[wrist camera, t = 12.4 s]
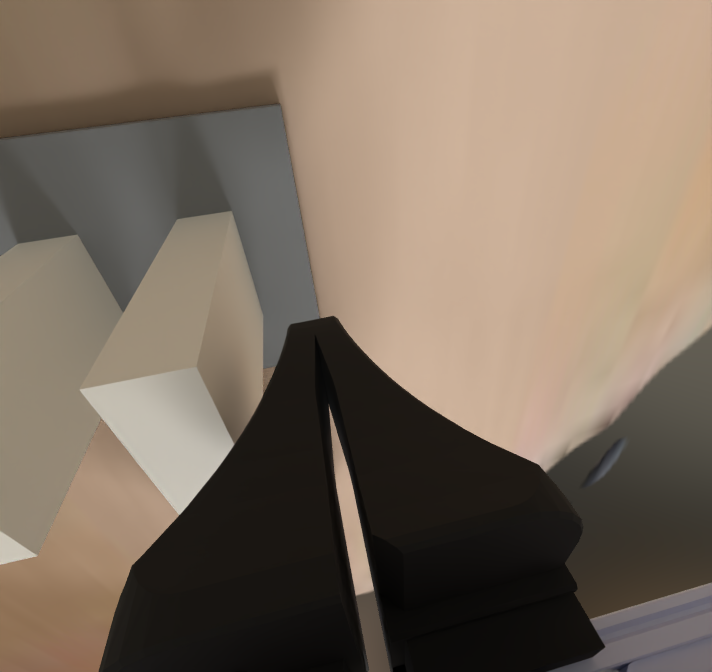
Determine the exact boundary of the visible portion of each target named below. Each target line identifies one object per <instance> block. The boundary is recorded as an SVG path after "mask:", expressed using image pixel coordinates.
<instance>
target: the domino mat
mask: <svg viewBox="0 0 712 672" xmlns="http://www.w3.org/2000/svg"><path fill="white" fill-rule="evenodd" d="M227 211H232V213H233V216H234V220H235V223H236V226H237V230H238V233H239V236H240V240H241V243H242V246H243V250H244V253H245V256H246V260H247V263H248V266H249V270H250V273H251V276H252V280H253V283H254V286H255V290H256V293H257V296H258V300H259V303H260V306H261V310H262V313H263V369H265V368H270V367H275V366H276V365H277V363H278V360H279V358H280V355H281V352H282V349H283V346H284V342H285V339H286V335H287V329H288V327H289V326H290V325H291V324H294V323H299V322H304V321H310V320H315V319H320V317H319V312H318V306H317V301H316V295H315V290H314V284H313V279H312V274H311V268H310V263H309V257H308V252H307V246H306V241H305V236H304V230H303V225H302V219H301V214H300V208H299V203H298V198H297V192H296V187H295V181H294V176H293V171H292V165H291V160H290V154H289V149H288V143H287V138H286V133H285V127H284V122H283V116H282V111H281V105H280V104H272V105H264V106H256V107H248V108H240V109H232V110H224V111H216V112H208V113H199V114H191V115H183V116H175V117H167V118H159V119H151V120H143V121H135V122H127V123H119V124H111V125H103V126H95V127H87V128H79V129H71V130H63V131H55V132H47V133H39V134H31V135H23V136H15V137H7V138H0V256H1V255H3V254H4V253H6V252H7V251H8V250H10V249H11V248H13V247H14V246H15V245H17V244H19V243H26V242H32V241H39V240H45V239H52V238H58V237H65V236H71V235H78V236H79V238H80V240H81V241H82V243H83V245H84V247H85V248H86V250H87V252H88V253H89V255H90V257H91V259H92V260H93V262H94V264H95V265H96V267H97V269H98V271H99V272H100V274H101V276H102V277H103V279H104V281H105V283H106V284H107V286H108V288H109V289H110V291H111V293H112V295H113V296H114V298H115V300H116V301H117V303H118V305H119V307H120V308H121V310H122V312H123V313H124V311H125V309H126V307H127V306H128V304H129V302H130V301H131V299H132V297H133V295H134V294H135V292H136V290H137V288H138V287H139V285H140V283H141V281H142V280H143V278H144V276H145V274H146V273H147V271H148V269H149V267H150V266H151V264H152V262H153V261H154V259H155V257H156V255H157V254H158V252H159V250H160V248H161V247H162V245H163V243H164V241H165V240H166V238H167V236H168V234H169V233H170V231H171V229H172V227H173V226H174V224H175V222H176V220H177V219H182V218H188V217H195V216H201V215H208V214H214V213H221V212H227Z"/></svg>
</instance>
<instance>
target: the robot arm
mask: <svg viewBox="0 0 712 672" xmlns="http://www.w3.org/2000/svg"><path fill="white" fill-rule="evenodd" d="M329 406H330V410H331V413H332V416H333V420H334V423H335V426H336V430H337V433H338V436H339V439H340V443H341V446H342V449H343V453H344V456H345V459H346V462H347V466H348V469H349V473H350V477H351V481H352V485H353V489H354V494H355V499H356V504H357V509H358V514H359V518H360V523H361V528H362V533H363V538H364V543H365V548H366V552H367V557H368V562H369V567H370V572H371V577H372V582H373V587H374V592H375V597H376V601H377V606H378V611H379V616H380V621H381V626H382V630H383V635H384V641H385V646H386V651H387V656H388V660H389V666H390V671H391V672H712V583H709V584H706V585H702V586H699V587H696V588H692V589H690V590H686V591H682V592H679V593H676V594H672V595H669V596H666V597H663V598H659V599H656V600H652V601H649V602H646V603H643V604H639V605H636V606H633V607H630V608H626V609H623V610H619V611H616V612H613V613H609V614H606V615H603V616H600V617H596V618H593V619H589V618H588V616H587V614H586V613H585V611H584V610H583V608H582V606H581V604H580V603H579V601H578V599H577V597H576V596H575V594H574V592H575V591H576V590H577V584H576V582H575V580H574V579H573V577H572V575H571V573H570V572H569V570H568V568H567V567H566V565H565V562H566V560H567V559H568V557H569V556H570V554H571V553H572V551H573V549H574V548H575V546H576V545H577V543H578V542H579V539H580V537H581V534H582V531H583V524H582V519H581V518H580V516H579V515H578V514H577V512H576V511H575V509H574V508H573V506H572V505H571V503H570V502H569V501H568V499H567V498H566V497H565V495H564V494H563V493H562V492H561V491H560V489H559V488H558V487H557V485H556V484H555V483H554V482H553V481H552V480H551V479H550V477H549V476H548V475H547V474H546V473H545V472H544V470H543V469H542V468H541V467H540V466H539V465H538V464H536V463H534V462H531V461H529V460H527V459H525V458H523V457H520V456H518V455H516V454H514V453H512V452H509V451H507V450H505V449H503V448H500V447H498V446H496V445H494V444H492V443H490V442H488V441H486V440H484V439H482V438H480V437H478V436H476V435H474V434H473V433H471V432H469V431H467V430H465V429H463V428H462V427H460V426H459V425H457V424H455V423H454V422H452V421H450V420H449V419H447V418H445V417H444V416H442V415H441V414H439V413H437V412H436V411H434V410H432V409H431V408H429V407H428V406H427V405H425V404H424V403H422V402H421V401H419V400H418V399H417V398H415V397H414V396H413V395H411V394H410V393H409V392H407V391H406V390H405V389H403V388H402V387H401V386H400V385H398V384H397V383H396V382H395V381H394V380H392V379H391V378H390V377H389V376H388V375H387V374H386V373H385V372H384V371H382V370H381V369H380V368H379V367H378V366H377V365H376V364H375V363H374V362H373V361H372V360H371V359H370V358H369V357H368V356H367V355H366V354H365V353H364V352H363V351H362V350H361V348H360V347H359V346H358V345H357V344H356V343H355V342H354V341H353V339H352V338H351V337H350V336H349V334H348V333H347V332H346V330H345V329H344V328H343V326H342V325H341V323H340V322H339V320H338V319H337V318H336V317H334V316H331V317H326V318H320V319H315V320H310V321H304V322H299V323H294V324H291V325H290V326H289V327H288V329H287V335H286V339H285V342H284V346H283V349H282V352H281V355H280V358H279V360H278V363H277V365H276V368H275V370H274V373H273V375H272V378H271V380H270V382H269V384H268V386H267V388H266V390H265V393H264V395H263V397H262V399H261V401H260V403H259V405H258V406H257V408H256V410H255V412H254V414H253V415H252V417H251V419H250V421H249V422H248V424H247V426H246V427H245V429H244V431H243V432H242V434H241V435H240V437H239V438H238V440H237V441H236V443H235V444H234V446H233V447H232V449H231V450H230V452H229V453H228V455H227V456H226V457H225V459H224V460H223V462H222V463H221V464H220V466H219V467H218V468H217V470H216V471H215V472H214V474H213V475H212V476H211V477H210V479H209V480H208V481H207V482H206V484H205V485H204V486H203V487H202V489H201V490H200V491H199V492H198V493H197V495H196V496H195V497H194V498H193V500H192V501H191V502H190V503H189V505H188V506H187V507H186V508H185V509H184V511H183V512H182V513H181V514H180V515H179V516H178V517H177V518H176V520H175V521H174V522H173V523H172V524H171V525H170V526H169V527H168V528H167V529H166V530H165V531H164V533H163V534H162V535H161V536H160V537H159V538H158V539H157V540H156V541H155V542H154V543H153V544H152V546H151V547H150V548H149V549H148V550H147V551H146V552H145V553H144V554H143V555H142V556H141V557H140V558H139V559H138V560H137V561H136V562H135V563H134V564H133V565H132V567H131V570H130V573H129V576H128V578H127V581H126V584H125V586H124V589H123V591H122V593H121V596H120V599H119V602H118V605H117V608H116V611H115V614H114V617H113V621H112V625H111V628H110V632H109V636H108V639H107V643H106V646H105V650H104V654H103V657H102V661H101V665H100V668H99V672H368V671H369V667H368V662H367V656H366V651H365V645H364V640H363V634H362V629H361V623H360V618H359V612H358V607H357V601H356V596H355V590H354V584H353V579H352V573H351V568H350V562H349V557H348V551H347V545H346V540H345V534H344V529H343V523H342V517H341V512H340V506H339V500H338V495H337V489H336V482H335V474H334V462H333V450H332V439H331V427H330V415H329Z"/></svg>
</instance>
